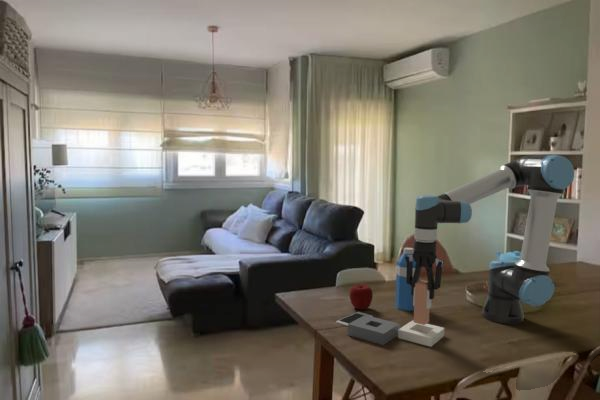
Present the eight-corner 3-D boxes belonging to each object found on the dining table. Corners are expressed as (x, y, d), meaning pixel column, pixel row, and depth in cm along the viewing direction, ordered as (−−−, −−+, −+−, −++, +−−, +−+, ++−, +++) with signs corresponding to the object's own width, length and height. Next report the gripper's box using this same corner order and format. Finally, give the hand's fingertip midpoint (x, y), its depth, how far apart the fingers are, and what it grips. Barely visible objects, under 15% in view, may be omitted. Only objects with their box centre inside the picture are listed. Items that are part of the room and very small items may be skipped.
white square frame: (444, 336, 166) (444, 327, 166) (430, 346, 157) (431, 338, 156) (412, 328, 173) (412, 320, 173) (397, 337, 164) (398, 329, 164)
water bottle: (418, 311, 192) (420, 251, 189) (395, 309, 194) (397, 250, 191) (417, 304, 201) (419, 247, 198) (395, 302, 203) (397, 245, 200)
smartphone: (373, 317, 185) (373, 315, 185) (351, 328, 173) (351, 325, 173) (358, 313, 190) (358, 311, 189) (335, 323, 178) (335, 321, 178)
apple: (344, 308, 194) (345, 284, 193) (358, 303, 201) (358, 280, 200) (363, 313, 188) (364, 289, 187) (376, 308, 195) (377, 284, 194)
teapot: (538, 279, 246) (539, 253, 244) (529, 282, 238) (530, 256, 237) (497, 270, 262) (498, 246, 261) (487, 273, 255) (488, 249, 253)
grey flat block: (399, 334, 167) (399, 323, 166) (383, 345, 157) (383, 333, 157) (364, 325, 175) (365, 315, 175) (347, 334, 166) (348, 324, 165)
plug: (428, 321, 165) (430, 281, 163) (424, 325, 162) (426, 283, 160) (418, 319, 167) (420, 279, 166) (413, 322, 164) (415, 281, 163)
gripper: (453, 242, 159) (449, 308, 162) (406, 235, 170) (404, 298, 172) (445, 245, 153) (441, 314, 156) (397, 238, 164) (394, 303, 166)
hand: (422, 306), depth 164 cm, fingers closed on plug, 4 cm apart
